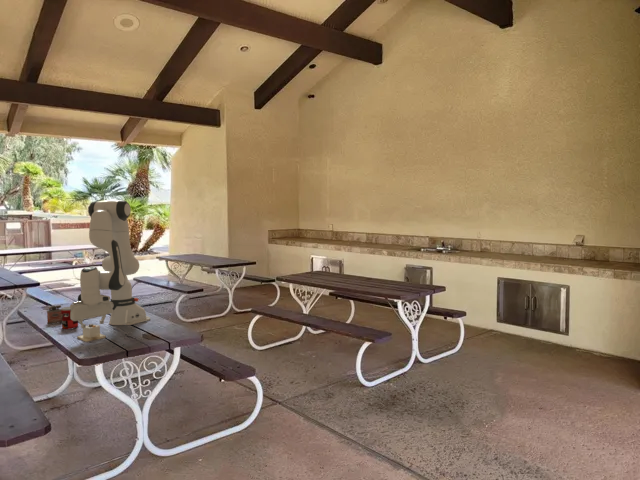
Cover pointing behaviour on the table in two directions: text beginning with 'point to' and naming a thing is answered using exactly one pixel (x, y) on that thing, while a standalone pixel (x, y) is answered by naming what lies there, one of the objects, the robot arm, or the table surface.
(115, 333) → the table surface
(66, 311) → the canned food
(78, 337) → the shaft block
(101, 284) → the robot arm
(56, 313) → the ornate red tin
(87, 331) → the beige hollow cube
